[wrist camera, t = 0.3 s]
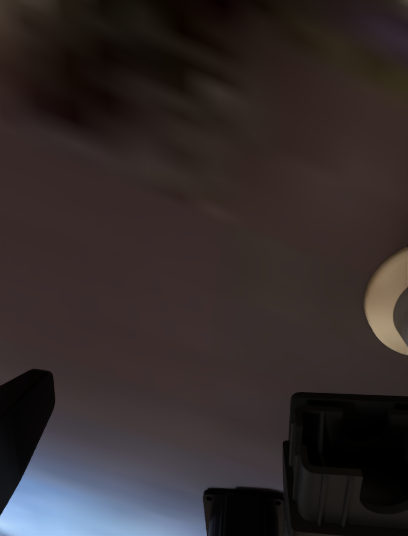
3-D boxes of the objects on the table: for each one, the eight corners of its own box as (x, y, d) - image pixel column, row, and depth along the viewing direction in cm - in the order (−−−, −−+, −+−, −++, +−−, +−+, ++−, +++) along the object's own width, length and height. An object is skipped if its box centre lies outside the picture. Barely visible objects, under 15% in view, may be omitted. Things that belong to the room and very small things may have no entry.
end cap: (280, 461, 28) (289, 562, 22) (283, 390, 25) (295, 483, 19) (418, 470, 27) (469, 580, 20) (439, 396, 24) (505, 498, 18)
